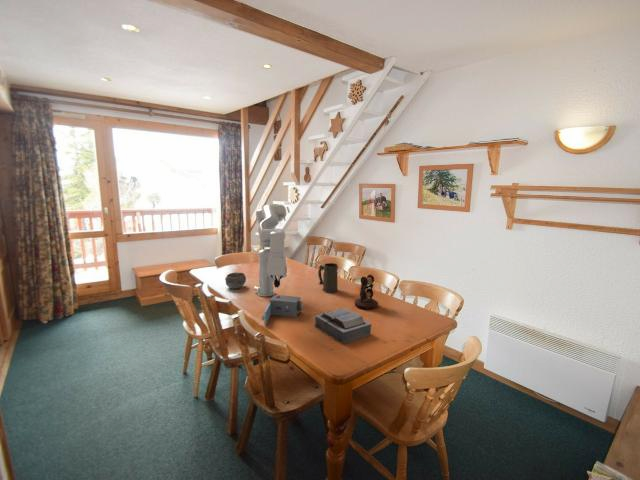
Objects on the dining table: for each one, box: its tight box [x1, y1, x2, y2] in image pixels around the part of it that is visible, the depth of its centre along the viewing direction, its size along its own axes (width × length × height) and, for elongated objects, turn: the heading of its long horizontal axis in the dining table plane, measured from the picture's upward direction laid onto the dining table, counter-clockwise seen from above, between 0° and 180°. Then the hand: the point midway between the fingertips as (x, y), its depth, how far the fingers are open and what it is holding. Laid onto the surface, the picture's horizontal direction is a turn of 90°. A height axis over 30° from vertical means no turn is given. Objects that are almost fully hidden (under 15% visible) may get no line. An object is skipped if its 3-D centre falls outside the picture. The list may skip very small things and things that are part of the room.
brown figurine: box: [354, 274, 379, 310], centre depth 200 cm, size 15×15×20 cm
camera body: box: [269, 294, 304, 318], centre depth 186 cm, size 18×9×10 cm, turn 80°
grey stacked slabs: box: [314, 307, 373, 345], centre depth 166 cm, size 23×27×10 cm
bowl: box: [224, 271, 247, 290], centre depth 230 cm, size 14×15×10 cm
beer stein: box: [317, 262, 339, 294], centre depth 228 cm, size 15×11×20 cm
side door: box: [261, 302, 272, 325], centre depth 176 cm, size 14×2×7 cm, turn 178°
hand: (276, 286), depth 172 cm, fingers closed
